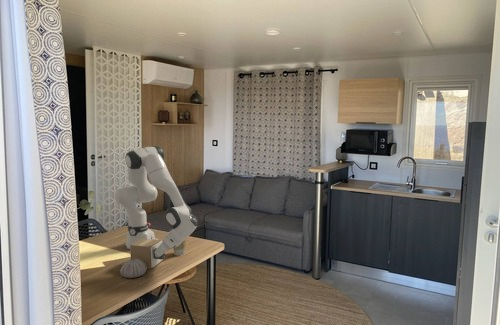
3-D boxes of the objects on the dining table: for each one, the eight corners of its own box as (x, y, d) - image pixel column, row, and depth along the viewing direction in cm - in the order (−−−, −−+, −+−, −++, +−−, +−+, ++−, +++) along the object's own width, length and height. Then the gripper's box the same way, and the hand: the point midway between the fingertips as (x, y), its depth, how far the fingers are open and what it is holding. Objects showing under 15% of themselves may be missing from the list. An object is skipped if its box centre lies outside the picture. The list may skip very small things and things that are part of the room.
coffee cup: (169, 252, 229) (168, 228, 227) (184, 249, 233) (184, 226, 232) (173, 257, 220) (173, 232, 218) (189, 254, 225) (189, 230, 223)
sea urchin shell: (133, 282, 187) (132, 266, 186) (114, 276, 194) (113, 261, 193) (152, 272, 199) (151, 257, 198) (133, 267, 205) (133, 253, 204)
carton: (142, 258, 219) (141, 238, 217) (161, 260, 216) (160, 239, 214) (130, 266, 207) (130, 244, 206) (150, 268, 204) (149, 246, 203)
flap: (161, 259, 215) (161, 240, 214) (170, 260, 214) (170, 241, 213) (151, 267, 204) (150, 247, 203) (160, 268, 202) (160, 248, 201)
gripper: (178, 228, 213) (162, 244, 216) (162, 239, 193) (145, 256, 196) (185, 236, 212) (169, 252, 215) (171, 248, 192) (153, 265, 195)
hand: (158, 254), depth 205 cm, fingers closed on flap, 3 cm apart
